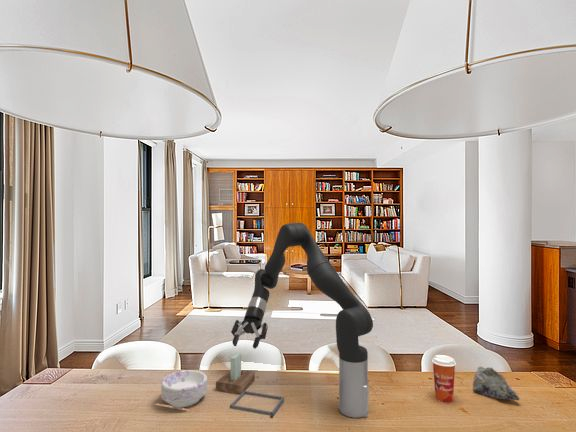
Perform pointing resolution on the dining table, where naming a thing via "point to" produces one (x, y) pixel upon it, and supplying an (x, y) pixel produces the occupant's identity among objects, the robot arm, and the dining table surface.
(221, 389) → the walnut slotted block
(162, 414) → the dining table surface
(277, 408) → the charcoal tray
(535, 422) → the dining table surface
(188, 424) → the dining table surface
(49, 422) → the dining table surface
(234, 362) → the pale green rectangular block
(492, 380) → the mineral rock
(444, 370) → the paper cup
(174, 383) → the paper bowls
